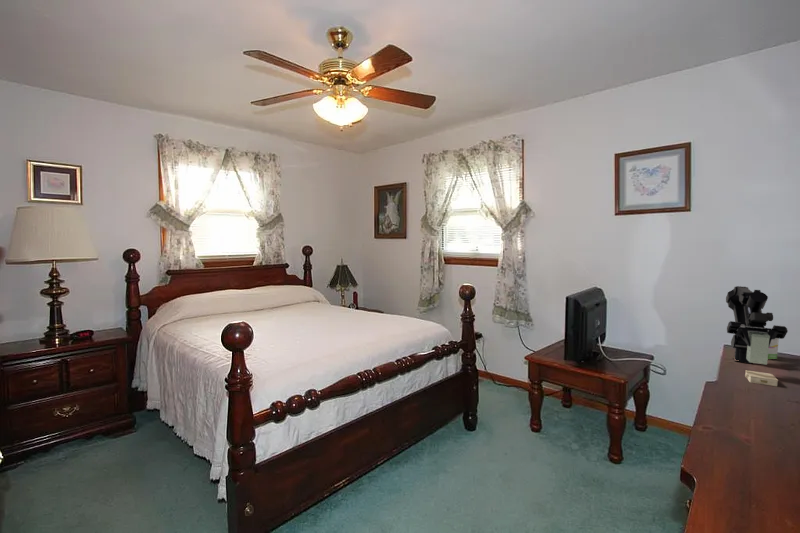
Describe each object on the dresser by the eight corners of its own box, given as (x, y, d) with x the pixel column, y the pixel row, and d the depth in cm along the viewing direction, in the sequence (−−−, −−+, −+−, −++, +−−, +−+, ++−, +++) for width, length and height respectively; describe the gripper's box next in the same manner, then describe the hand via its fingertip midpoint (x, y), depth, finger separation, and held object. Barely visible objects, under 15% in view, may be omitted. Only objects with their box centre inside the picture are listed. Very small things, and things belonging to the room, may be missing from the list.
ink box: (777, 360, 191) (780, 329, 189) (767, 359, 191) (769, 329, 189) (761, 354, 199) (764, 325, 198) (751, 354, 199) (754, 324, 198)
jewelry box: (744, 377, 168) (745, 370, 168) (770, 380, 164) (771, 373, 164) (750, 383, 160) (750, 376, 160) (777, 387, 157) (778, 380, 156)
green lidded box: (745, 358, 172) (748, 331, 171) (763, 361, 170) (765, 332, 169) (749, 362, 167) (751, 333, 166) (767, 364, 165) (770, 335, 164)
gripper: (730, 302, 175) (734, 333, 166) (788, 307, 166) (795, 339, 157) (725, 317, 182) (728, 347, 173) (780, 322, 173) (786, 354, 164)
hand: (758, 346), depth 167 cm, fingers closed on green lidded box, 5 cm apart
